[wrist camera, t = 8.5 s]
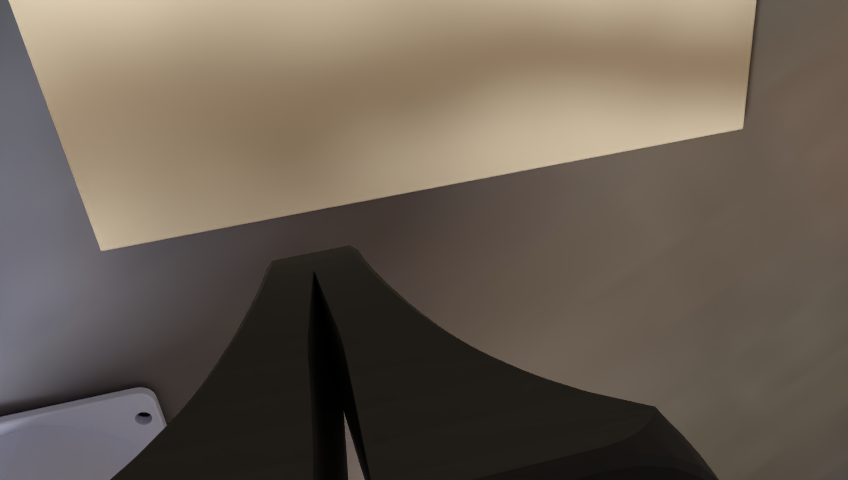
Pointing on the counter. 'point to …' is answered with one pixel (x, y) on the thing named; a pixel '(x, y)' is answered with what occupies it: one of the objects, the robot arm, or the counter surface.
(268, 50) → the board
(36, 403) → the counter surface
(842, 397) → the counter surface
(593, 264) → the counter surface
